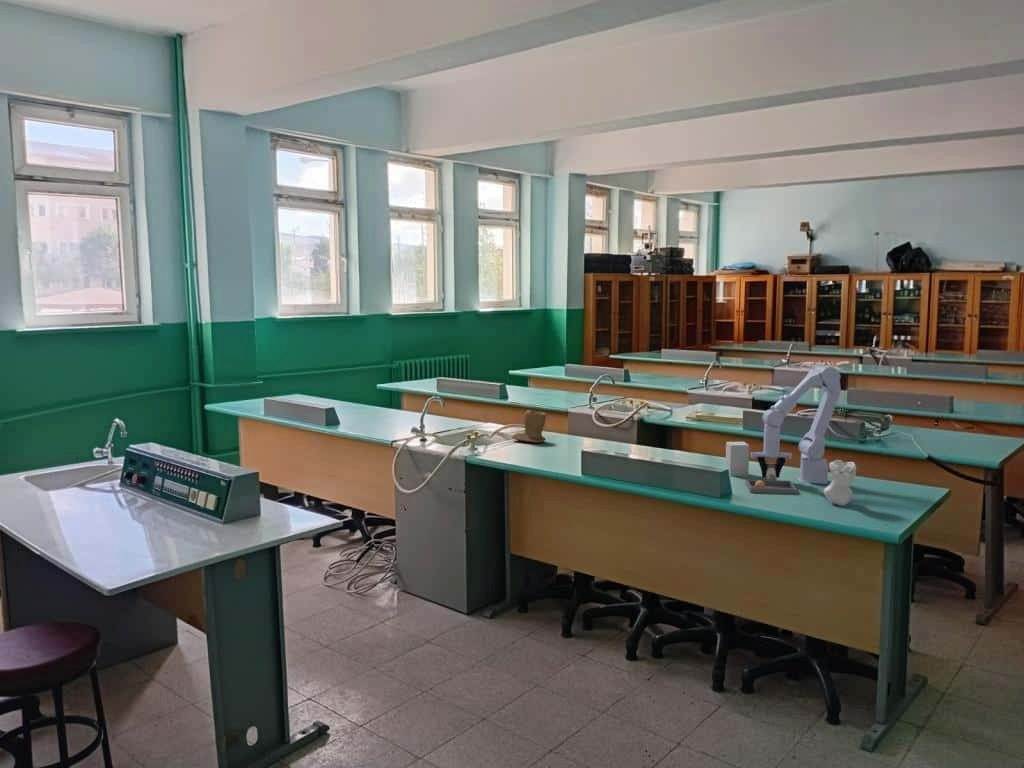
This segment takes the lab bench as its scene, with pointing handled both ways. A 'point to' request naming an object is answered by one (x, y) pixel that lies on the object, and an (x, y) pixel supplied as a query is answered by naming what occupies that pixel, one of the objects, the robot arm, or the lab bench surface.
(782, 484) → the tray
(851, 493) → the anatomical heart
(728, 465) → the supplement box
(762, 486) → the ball
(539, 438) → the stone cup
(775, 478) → the shaker
